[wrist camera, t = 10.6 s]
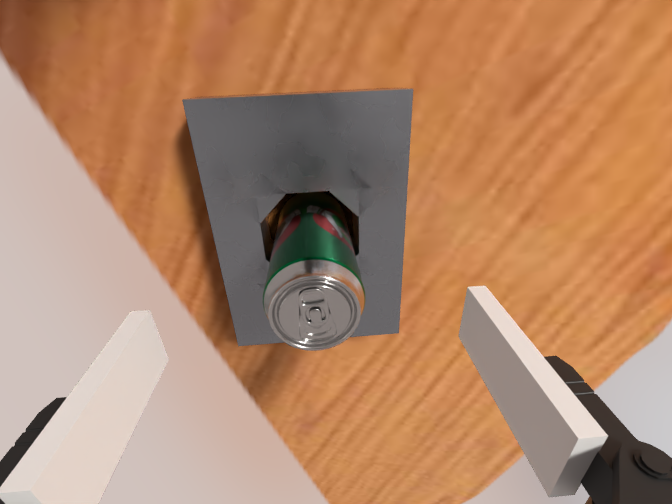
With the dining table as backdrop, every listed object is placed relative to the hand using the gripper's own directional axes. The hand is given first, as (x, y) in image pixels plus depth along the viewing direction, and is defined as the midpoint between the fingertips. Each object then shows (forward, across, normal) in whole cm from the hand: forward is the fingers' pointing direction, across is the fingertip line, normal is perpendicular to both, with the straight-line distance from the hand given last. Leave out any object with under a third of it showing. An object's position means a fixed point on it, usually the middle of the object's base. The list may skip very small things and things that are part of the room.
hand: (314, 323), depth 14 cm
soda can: (+13, 0, -1) cm, 13 cm away
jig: (+13, 0, -1) cm, 13 cm away
